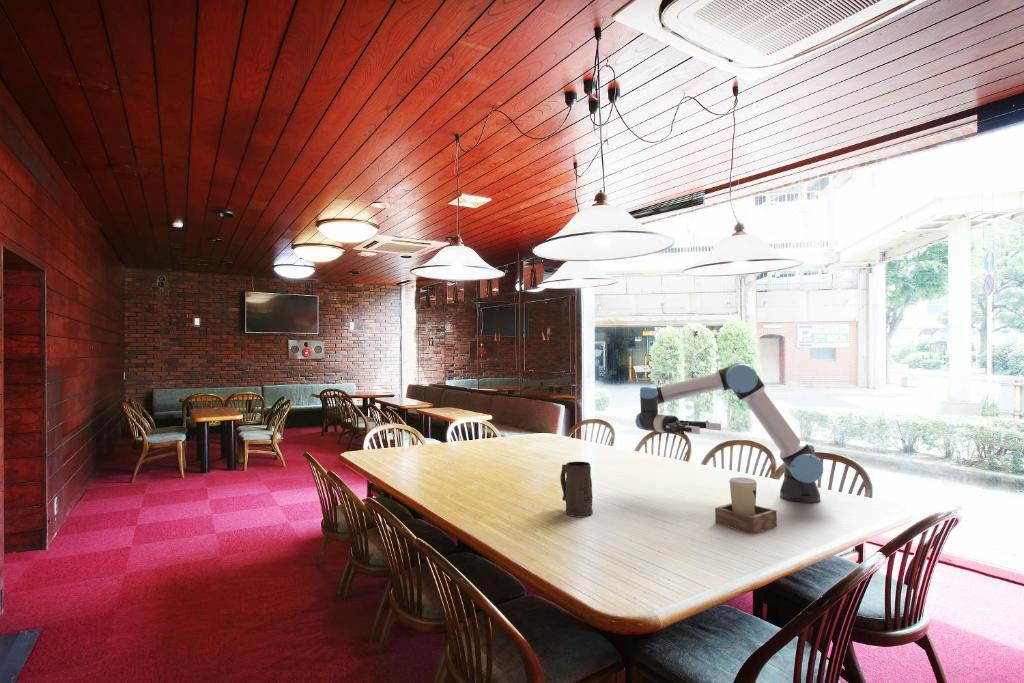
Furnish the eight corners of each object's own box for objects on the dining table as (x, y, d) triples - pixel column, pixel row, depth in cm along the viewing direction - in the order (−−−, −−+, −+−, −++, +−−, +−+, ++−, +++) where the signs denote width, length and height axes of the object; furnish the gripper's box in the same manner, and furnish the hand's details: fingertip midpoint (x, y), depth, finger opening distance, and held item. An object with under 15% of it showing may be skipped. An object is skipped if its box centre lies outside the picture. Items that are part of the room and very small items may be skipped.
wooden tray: (739, 515, 202) (739, 501, 202) (776, 525, 190) (776, 510, 190) (715, 522, 194) (715, 507, 194) (752, 534, 182) (752, 517, 182)
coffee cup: (761, 516, 190) (760, 483, 190) (734, 516, 191) (733, 483, 191) (752, 509, 199) (751, 477, 199) (726, 508, 200) (726, 477, 200)
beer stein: (599, 512, 208) (596, 461, 209) (583, 519, 200) (580, 466, 201) (568, 508, 218) (565, 459, 220) (552, 514, 210) (549, 463, 212)
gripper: (686, 429, 233) (729, 435, 215) (647, 435, 219) (690, 441, 201) (685, 412, 233) (728, 416, 216) (646, 417, 219) (689, 422, 202)
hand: (710, 428), depth 209 cm, fingers open, 13 cm apart
